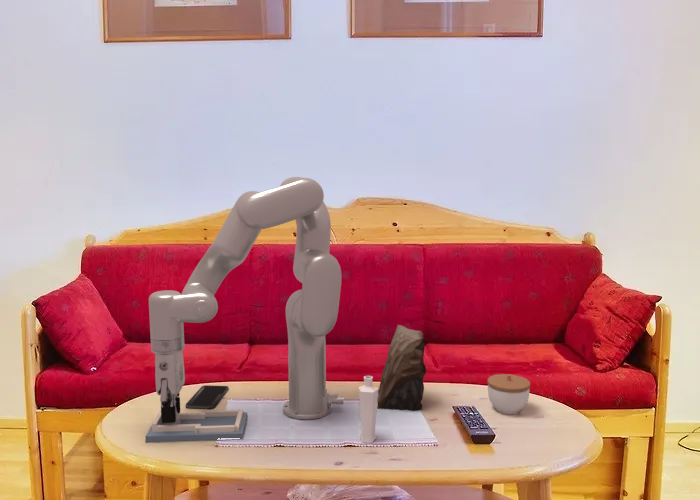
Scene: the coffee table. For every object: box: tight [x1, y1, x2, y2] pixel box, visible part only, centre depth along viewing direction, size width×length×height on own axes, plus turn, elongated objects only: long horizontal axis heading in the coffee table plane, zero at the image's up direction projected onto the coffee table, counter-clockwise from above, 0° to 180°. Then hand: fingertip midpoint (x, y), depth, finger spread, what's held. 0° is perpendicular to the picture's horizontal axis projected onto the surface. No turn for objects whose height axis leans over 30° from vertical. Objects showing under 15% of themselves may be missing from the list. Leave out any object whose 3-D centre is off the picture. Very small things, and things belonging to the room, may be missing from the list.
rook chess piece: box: [162, 391, 181, 425], centre depth 144 cm, size 4×4×8 cm
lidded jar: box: [487, 373, 531, 415], centre depth 157 cm, size 11×11×9 cm
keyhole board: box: [144, 409, 249, 443], centre depth 145 cm, size 22×12×4 cm, turn 94°
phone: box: [185, 384, 229, 411], centre depth 165 cm, size 8×1×15 cm
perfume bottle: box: [358, 375, 379, 444], centre depth 139 cm, size 5×4×15 cm
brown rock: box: [377, 324, 427, 412], centre depth 160 cm, size 13×13×20 cm
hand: (171, 416), depth 145 cm, fingers closed on rook chess piece, 4 cm apart
